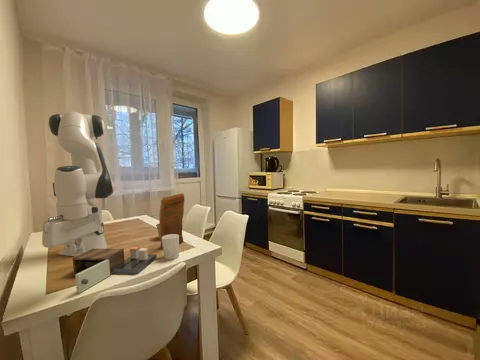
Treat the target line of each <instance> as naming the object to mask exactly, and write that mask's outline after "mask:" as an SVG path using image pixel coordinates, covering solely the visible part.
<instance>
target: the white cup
mask: <svg viewBox="0 0 480 360" xmlns="http://www.w3.org/2000/svg"><path fill="white" fill-rule="evenodd" d="M162 245H163V249H162V251H163V258H164V260H175V259H177V258H178V257H179V256H180V254H179V253H180V244H179V235H178V234H169V235H165V236H163V237H162Z"/></svg>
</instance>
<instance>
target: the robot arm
mask: <svg viewBox="0 0 480 360" xmlns="http://www.w3.org/2000/svg"><path fill="white" fill-rule="evenodd" d="M47 125H48V128H49V130H50V132H51V134H53V136H55V137H57V138H58V143H59V145H60V147H61V148H62V149H63V150H64V151H65V152H67V153H69V154H70V157H71V158H70V159H71V165H65V166H59V167H57V168H56V169H55V172H54V180H53V181H54V182H53V183H52V188H53V189H52V191H53V195H54V197H55V198H56V203H55V204H56V205H55V206H56V207H55V208H56V209H55V210H56V216H53V217H48V218H47V219H46V220H45V221H44V222H43V223H42V233H41V235H42V238H41V243H42V246H43V247H44V248H45V249H46V248H49V249H51V248H52V249H54V248H56V247H59V246H62V245H63V249H62V250H60V251H58V255H60V256H67V257H69V256H70V257H76V256H78V255H80V254H83V253H85V252H87V251H89V250H91V249H109V248H108V245H107V241H106V238H105V237H106V236H105V226H104V225H105V223H104V221H103V211H102V208H101V207H100V206H98V205H96V204H94V203H93V202H92V200H93V199H98V200H99V199H107V198H109V197H111V195H113V194H114V192H115V188H116V186H115V183H114V182H113V179H112V177H111V175H110V173H109V170H108V166H107V163H106V159H105V157H104V155H103V151H102V148H101V146H100V145H99V143H97V142H95V140H98V138H100V137H102V136H103V135H104V132H105V130H106V125H105V122H104V120H103V118H102V117H101V116H100V115H95V114H87V113H85V114H83V113H81V112H77V111H72V110H71V111H67V112H64V113H63V114H61V113H56V114H52V115H50V117H49V118H48V123H47ZM94 137H95V140H94Z"/></svg>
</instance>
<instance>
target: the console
mask: <svg viewBox="0 0 480 360" xmlns="http://www.w3.org/2000/svg"><path fill="white" fill-rule="evenodd" d="M157 258H158V257H157V254H155V253H154V254H153V253H148V258H147V259H146V260H139V257H138V258H137V259H131V256H130V257H128V258H127V259H124V262H122V263H120V264H119V265H117V266H116V267H114V268H113V269H112V273H111V274H112V275H139V274H140V273H142V271H143V270H145V268H147V267H148V266H149V265H150V264H152V263H153V262H154V261H156V260H157Z"/></svg>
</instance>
